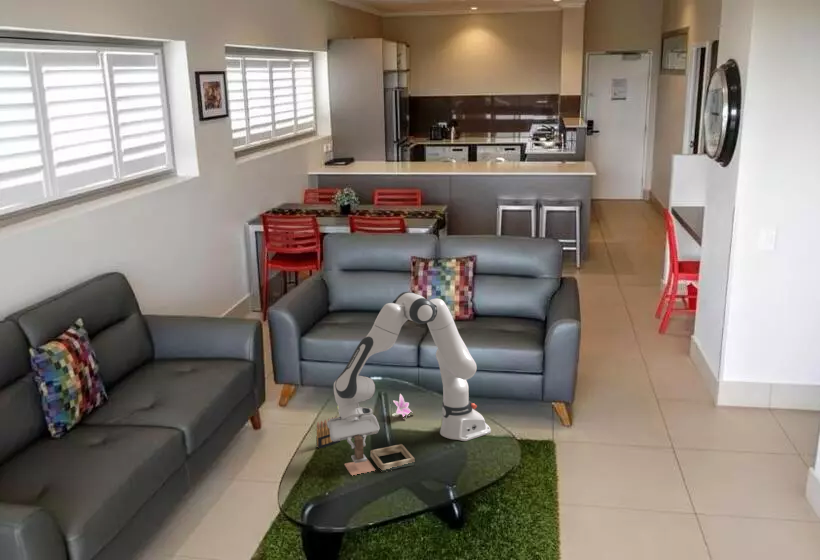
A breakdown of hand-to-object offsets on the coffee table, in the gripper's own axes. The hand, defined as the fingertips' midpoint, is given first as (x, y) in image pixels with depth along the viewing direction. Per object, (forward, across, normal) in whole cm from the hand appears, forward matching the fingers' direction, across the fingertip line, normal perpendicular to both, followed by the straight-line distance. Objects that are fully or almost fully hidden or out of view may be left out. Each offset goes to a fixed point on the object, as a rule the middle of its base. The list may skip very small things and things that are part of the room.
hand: (358, 447), depth 297 cm
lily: (-20, +34, +33) cm, 51 cm away
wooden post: (+4, 0, +4) cm, 5 cm away
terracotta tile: (+6, 0, +7) cm, 9 cm away
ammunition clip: (-11, -6, +24) cm, 28 cm away
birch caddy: (+6, +14, +6) cm, 17 cm away
